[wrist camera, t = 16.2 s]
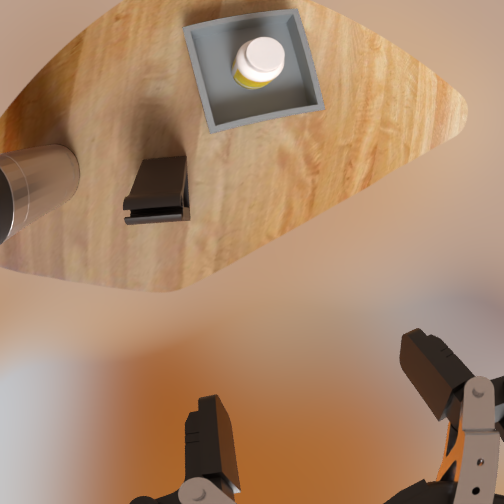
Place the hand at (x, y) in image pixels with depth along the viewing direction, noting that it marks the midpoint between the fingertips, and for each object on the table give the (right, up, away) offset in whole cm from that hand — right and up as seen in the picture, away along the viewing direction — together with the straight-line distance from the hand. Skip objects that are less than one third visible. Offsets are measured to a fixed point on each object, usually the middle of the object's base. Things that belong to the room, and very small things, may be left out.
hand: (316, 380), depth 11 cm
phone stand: (-14, +14, +29) cm, 35 cm away
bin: (-3, +29, +24) cm, 38 cm away
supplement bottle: (-3, +29, +23) cm, 37 cm away
